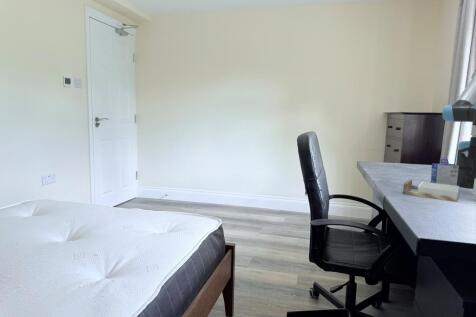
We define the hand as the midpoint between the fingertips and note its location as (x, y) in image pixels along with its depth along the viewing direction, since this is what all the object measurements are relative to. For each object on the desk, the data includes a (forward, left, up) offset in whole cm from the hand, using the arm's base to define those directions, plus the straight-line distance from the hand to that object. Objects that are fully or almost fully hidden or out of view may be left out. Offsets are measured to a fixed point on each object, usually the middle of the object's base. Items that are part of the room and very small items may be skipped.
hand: (474, 194), depth 134 cm
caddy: (+8, -10, -3) cm, 13 cm away
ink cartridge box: (-5, -20, -3) cm, 21 cm away
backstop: (+10, -12, -3) cm, 16 cm away
